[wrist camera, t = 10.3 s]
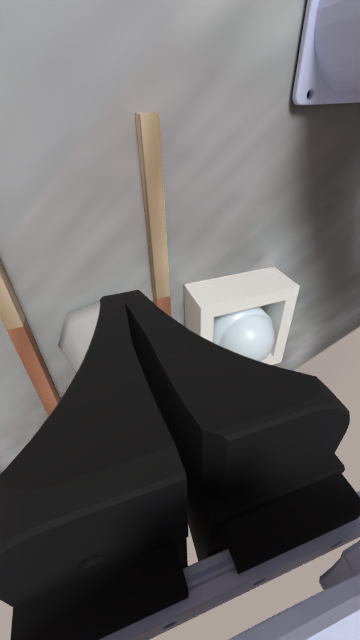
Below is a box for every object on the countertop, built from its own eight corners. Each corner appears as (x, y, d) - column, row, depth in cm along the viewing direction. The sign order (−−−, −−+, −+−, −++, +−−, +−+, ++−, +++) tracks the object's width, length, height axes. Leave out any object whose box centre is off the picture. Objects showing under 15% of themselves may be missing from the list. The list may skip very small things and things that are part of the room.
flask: (51, 301, 20) (50, 421, 13) (153, 293, 23) (204, 391, 15) (63, 377, 24) (68, 502, 17) (149, 363, 27) (187, 468, 19)
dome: (260, 289, 25) (295, 321, 21) (253, 335, 28) (282, 369, 24) (205, 301, 24) (232, 337, 20) (204, 348, 27) (227, 386, 23)
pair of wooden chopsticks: (153, 112, 16) (159, 113, 15) (172, 390, 30) (176, 400, 29) (-84, 123, 13) (-94, 125, 12) (58, 424, 27) (58, 435, 26)
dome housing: (273, 266, 25) (299, 286, 22) (260, 338, 30) (281, 362, 27) (183, 284, 23) (201, 308, 20) (185, 358, 28) (199, 385, 25)
